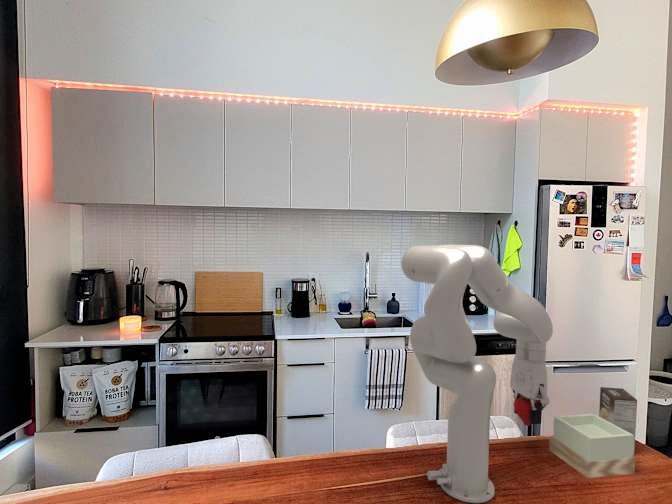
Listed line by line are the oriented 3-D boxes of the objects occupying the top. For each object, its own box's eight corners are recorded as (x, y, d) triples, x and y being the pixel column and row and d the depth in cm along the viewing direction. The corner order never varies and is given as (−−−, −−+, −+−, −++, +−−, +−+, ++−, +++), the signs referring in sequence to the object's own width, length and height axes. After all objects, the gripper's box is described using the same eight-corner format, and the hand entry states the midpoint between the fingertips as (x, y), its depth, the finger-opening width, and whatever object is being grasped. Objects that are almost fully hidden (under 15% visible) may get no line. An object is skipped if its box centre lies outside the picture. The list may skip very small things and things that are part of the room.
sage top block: (589, 461, 103) (590, 438, 103) (553, 437, 116) (554, 416, 116) (632, 457, 106) (633, 435, 105) (592, 433, 118) (593, 413, 118)
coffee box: (596, 437, 125) (599, 386, 124) (620, 440, 123) (622, 388, 123) (610, 453, 116) (613, 397, 115) (636, 455, 114) (638, 399, 114)
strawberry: (508, 420, 117) (510, 385, 116) (535, 421, 117) (536, 386, 116) (518, 429, 111) (520, 392, 111) (545, 430, 111) (547, 394, 111)
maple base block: (587, 480, 103) (588, 462, 103) (549, 451, 117) (549, 436, 117) (634, 475, 106) (635, 458, 105) (591, 447, 119) (592, 432, 119)
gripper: (500, 346, 121) (497, 406, 121) (539, 363, 104) (535, 433, 104) (523, 346, 123) (519, 406, 123) (565, 363, 106) (561, 432, 106)
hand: (527, 417), depth 114 cm, fingers closed on strawberry, 6 cm apart
